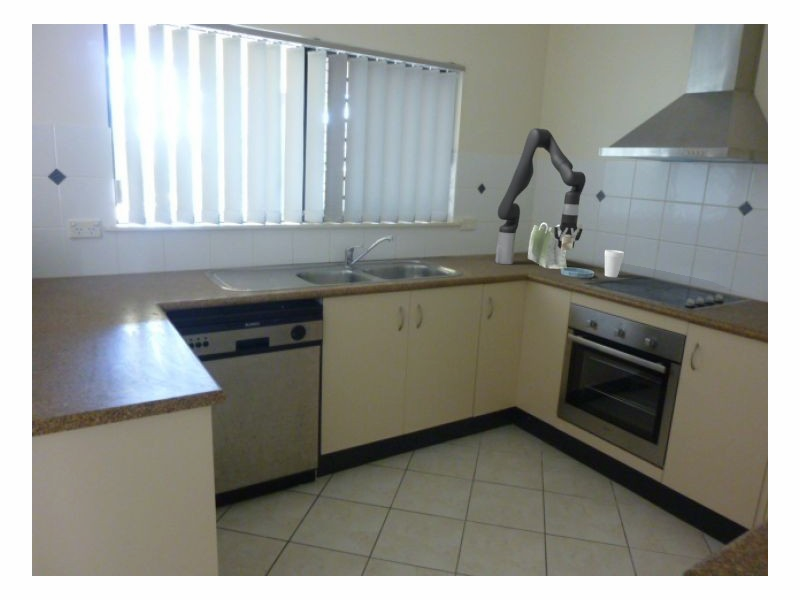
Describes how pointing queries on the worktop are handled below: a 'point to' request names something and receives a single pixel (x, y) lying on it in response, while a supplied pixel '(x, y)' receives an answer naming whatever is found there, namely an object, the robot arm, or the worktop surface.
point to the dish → (577, 272)
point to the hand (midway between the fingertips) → (565, 248)
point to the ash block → (567, 243)
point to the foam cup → (613, 262)
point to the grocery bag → (546, 248)
